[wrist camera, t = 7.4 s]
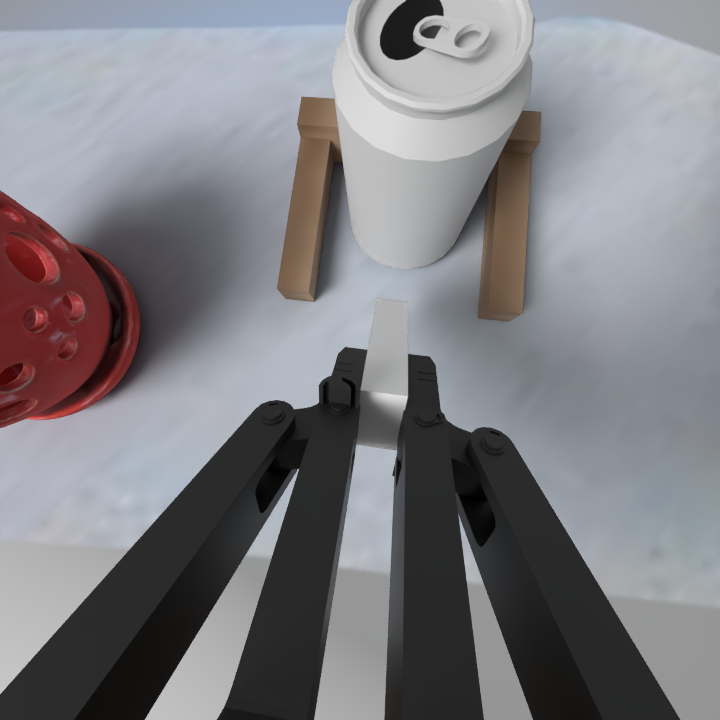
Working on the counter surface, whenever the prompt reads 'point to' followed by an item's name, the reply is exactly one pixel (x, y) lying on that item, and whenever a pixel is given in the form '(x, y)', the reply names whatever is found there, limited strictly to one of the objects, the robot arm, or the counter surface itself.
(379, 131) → the can
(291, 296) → the walnut frame
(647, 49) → the counter surface
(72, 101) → the counter surface
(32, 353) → the plant pot
